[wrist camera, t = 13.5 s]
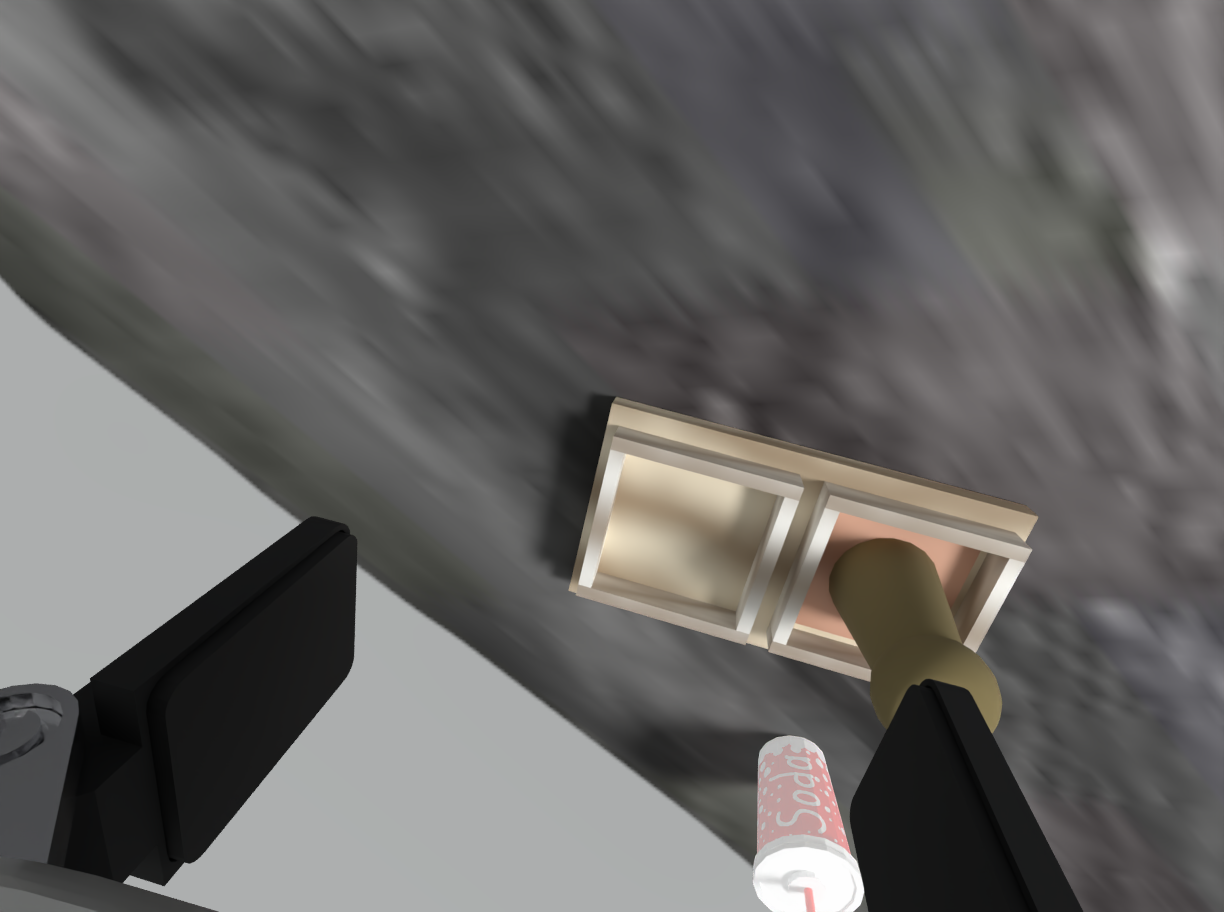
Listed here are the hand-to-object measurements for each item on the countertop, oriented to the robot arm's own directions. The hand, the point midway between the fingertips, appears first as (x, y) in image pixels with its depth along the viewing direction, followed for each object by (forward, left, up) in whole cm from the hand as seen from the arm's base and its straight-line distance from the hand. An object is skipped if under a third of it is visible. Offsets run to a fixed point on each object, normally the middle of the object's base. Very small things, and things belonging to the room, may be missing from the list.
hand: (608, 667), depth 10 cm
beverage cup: (+26, +14, -27) cm, 40 cm away
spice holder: (+10, +8, -27) cm, 30 cm away
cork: (+10, +14, -25) cm, 31 cm away
